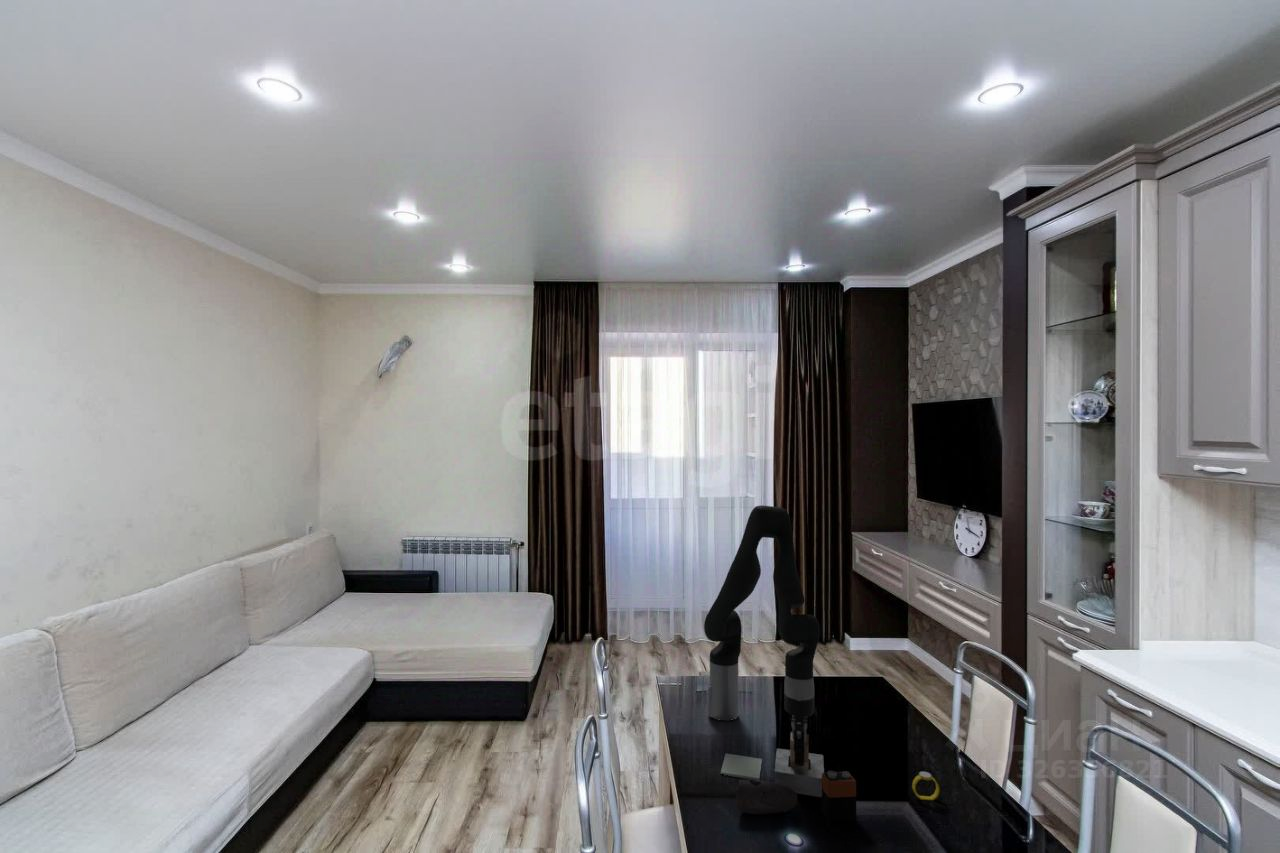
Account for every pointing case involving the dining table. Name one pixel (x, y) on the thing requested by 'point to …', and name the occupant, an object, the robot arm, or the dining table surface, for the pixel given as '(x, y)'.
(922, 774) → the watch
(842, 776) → the battery
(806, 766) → the birch peg
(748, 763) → the sage mat
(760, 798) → the perforated stone tool
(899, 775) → the dining table surface
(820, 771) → the post block
